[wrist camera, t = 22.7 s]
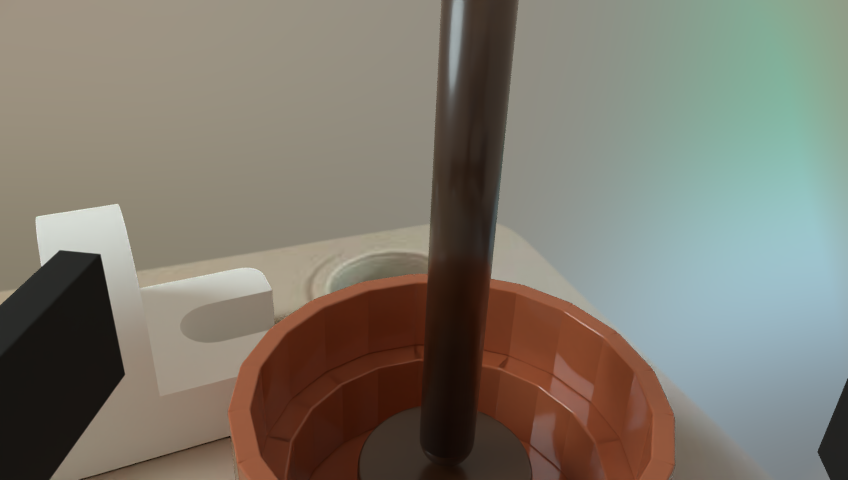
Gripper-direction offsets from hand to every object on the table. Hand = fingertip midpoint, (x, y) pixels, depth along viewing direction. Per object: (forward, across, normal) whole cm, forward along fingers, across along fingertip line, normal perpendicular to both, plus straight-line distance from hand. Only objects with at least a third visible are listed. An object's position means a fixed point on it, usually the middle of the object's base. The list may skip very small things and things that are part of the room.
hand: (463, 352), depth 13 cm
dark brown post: (+6, 0, -11) cm, 12 cm away
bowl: (+6, 0, -12) cm, 13 cm away
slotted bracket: (+10, -13, -12) cm, 20 cm away
